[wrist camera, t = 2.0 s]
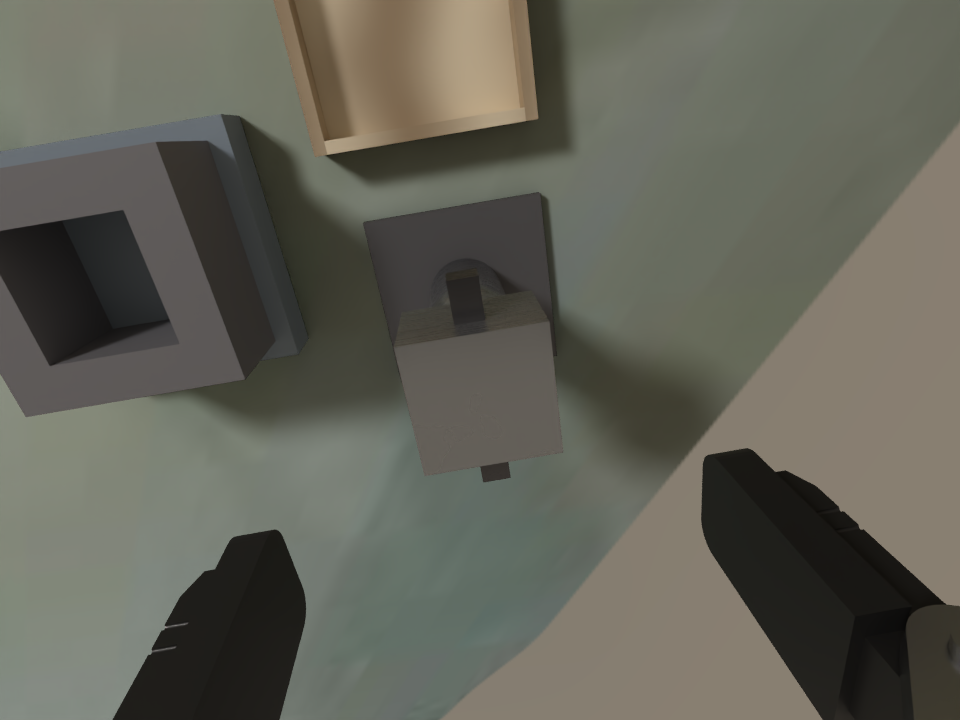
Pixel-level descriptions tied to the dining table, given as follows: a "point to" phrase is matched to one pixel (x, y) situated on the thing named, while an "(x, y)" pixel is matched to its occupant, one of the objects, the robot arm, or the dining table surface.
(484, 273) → the grey tabbed block
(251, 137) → the dining table surface
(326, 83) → the tray
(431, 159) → the dining table surface
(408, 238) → the mat
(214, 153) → the block
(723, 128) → the dining table surface
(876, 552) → the robot arm
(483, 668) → the dining table surface
